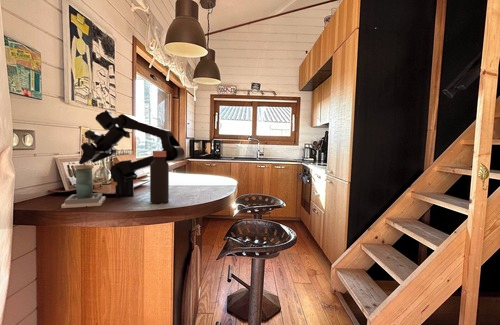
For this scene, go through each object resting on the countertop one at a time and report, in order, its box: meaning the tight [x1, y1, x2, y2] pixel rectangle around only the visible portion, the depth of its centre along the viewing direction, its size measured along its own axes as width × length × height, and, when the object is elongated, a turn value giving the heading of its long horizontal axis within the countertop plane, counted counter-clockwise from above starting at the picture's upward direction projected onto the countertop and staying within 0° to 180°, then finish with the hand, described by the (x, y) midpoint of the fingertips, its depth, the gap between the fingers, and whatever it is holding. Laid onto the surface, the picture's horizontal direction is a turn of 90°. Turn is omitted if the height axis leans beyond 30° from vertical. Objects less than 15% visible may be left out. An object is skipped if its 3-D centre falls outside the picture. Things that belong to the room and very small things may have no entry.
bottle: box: [149, 150, 170, 205], centre depth 99 cm, size 7×7×20 cm
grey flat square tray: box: [61, 192, 106, 209], centre depth 95 cm, size 12×12×2 cm
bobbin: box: [73, 164, 94, 199], centre depth 95 cm, size 6×6×13 cm
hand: (86, 162), depth 109 cm, fingers open, 9 cm apart
